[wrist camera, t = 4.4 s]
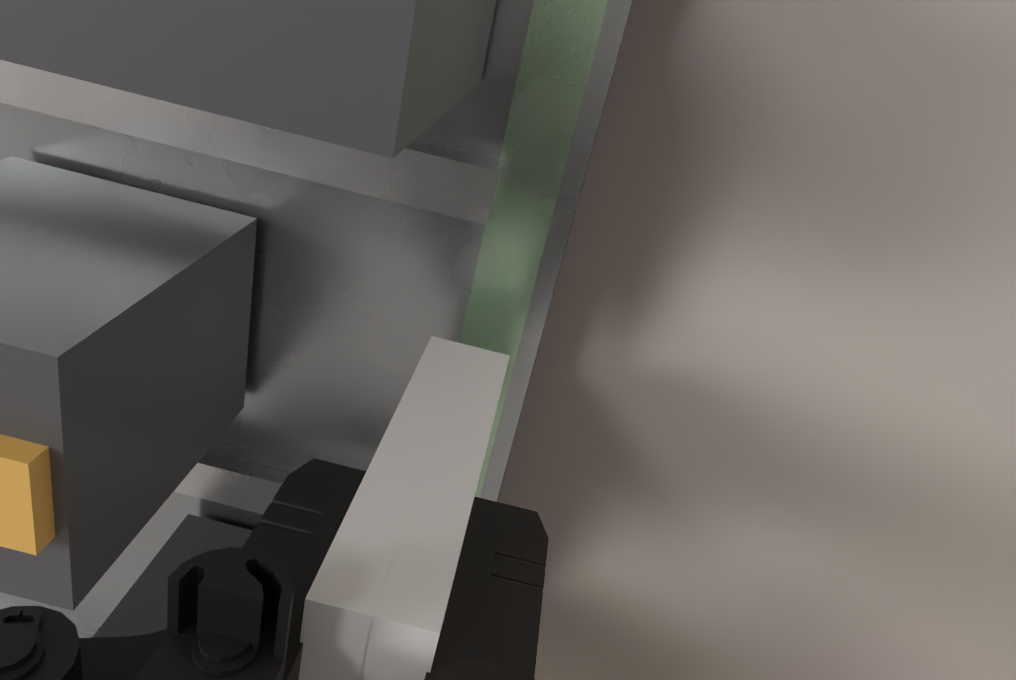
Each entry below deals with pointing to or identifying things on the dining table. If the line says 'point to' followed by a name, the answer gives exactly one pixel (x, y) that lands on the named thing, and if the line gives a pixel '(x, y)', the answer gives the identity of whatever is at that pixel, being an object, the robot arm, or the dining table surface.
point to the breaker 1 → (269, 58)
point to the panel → (352, 249)
